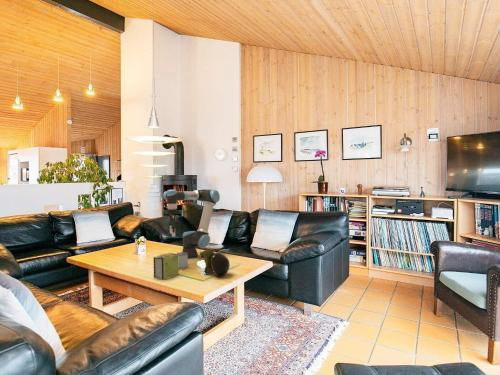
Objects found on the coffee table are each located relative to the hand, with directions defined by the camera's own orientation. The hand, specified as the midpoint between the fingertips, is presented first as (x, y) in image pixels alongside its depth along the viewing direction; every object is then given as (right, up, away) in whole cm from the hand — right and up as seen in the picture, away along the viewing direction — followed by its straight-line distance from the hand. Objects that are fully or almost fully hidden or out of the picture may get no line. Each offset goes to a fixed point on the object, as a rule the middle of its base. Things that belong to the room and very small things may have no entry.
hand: (172, 235), depth 251 cm
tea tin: (+8, -27, 0) cm, 28 cm away
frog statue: (+36, -28, -16) cm, 48 cm away
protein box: (0, -28, -20) cm, 34 cm away
